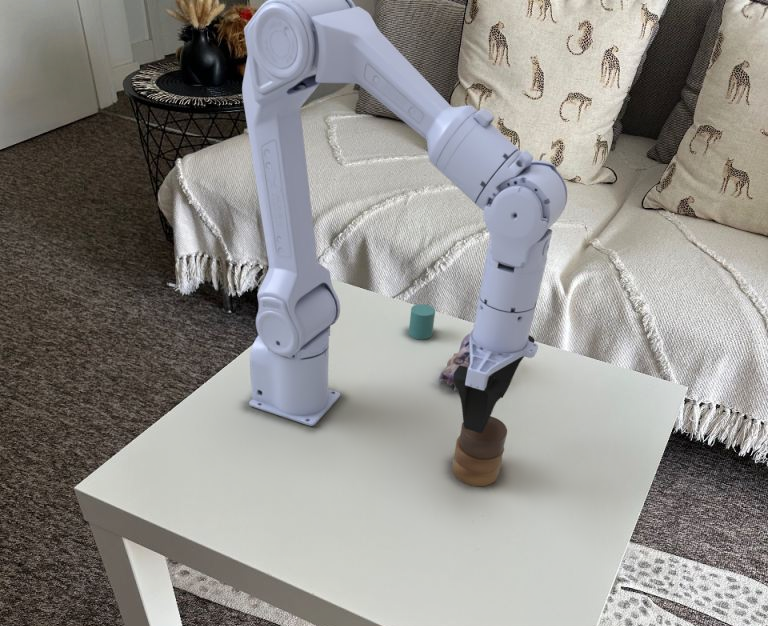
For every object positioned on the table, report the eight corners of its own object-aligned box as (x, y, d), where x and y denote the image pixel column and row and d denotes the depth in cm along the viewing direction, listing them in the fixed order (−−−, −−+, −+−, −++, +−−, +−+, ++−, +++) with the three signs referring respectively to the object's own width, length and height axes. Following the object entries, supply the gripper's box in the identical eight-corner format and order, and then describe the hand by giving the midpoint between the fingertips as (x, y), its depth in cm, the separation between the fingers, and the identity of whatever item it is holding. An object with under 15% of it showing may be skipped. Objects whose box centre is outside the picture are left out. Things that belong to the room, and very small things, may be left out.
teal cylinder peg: (405, 335, 107) (407, 311, 105) (414, 325, 110) (416, 301, 107) (427, 342, 106) (430, 317, 104) (435, 331, 109) (438, 307, 106)
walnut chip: (452, 450, 81) (455, 433, 80) (467, 426, 85) (470, 409, 83) (495, 464, 80) (499, 447, 78) (508, 439, 84) (512, 422, 82)
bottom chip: (445, 477, 84) (447, 464, 83) (461, 451, 88) (463, 438, 86) (490, 492, 83) (492, 479, 81) (504, 465, 86) (507, 452, 85)
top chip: (447, 464, 83) (449, 450, 81) (463, 438, 86) (465, 425, 85) (492, 479, 81) (496, 465, 80) (507, 452, 85) (510, 439, 84)
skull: (457, 399, 95) (460, 356, 91) (418, 379, 100) (421, 338, 96) (517, 376, 101) (522, 335, 98) (478, 358, 106) (482, 319, 103)
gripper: (526, 342, 64) (499, 458, 74) (564, 280, 74) (535, 389, 83) (454, 321, 66) (436, 437, 75) (500, 264, 76) (479, 372, 85)
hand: (484, 411), depth 80 cm, fingers open, 7 cm apart
